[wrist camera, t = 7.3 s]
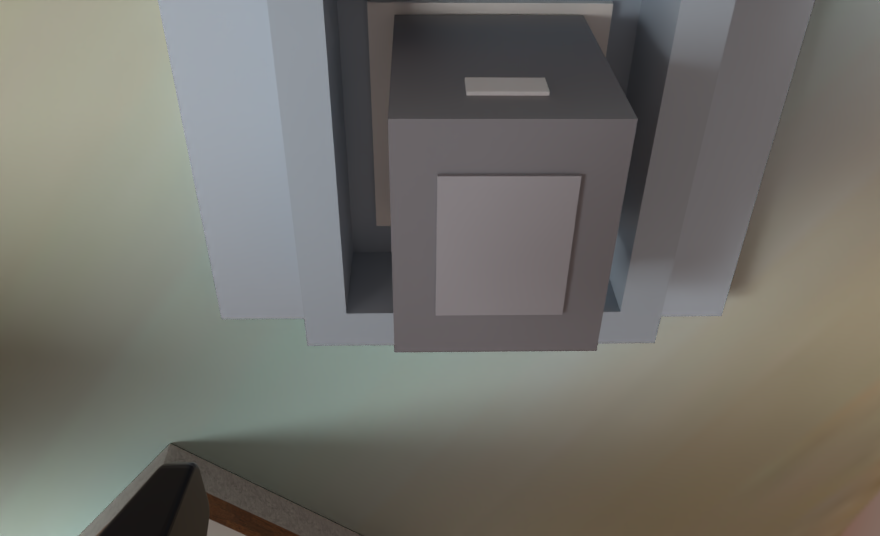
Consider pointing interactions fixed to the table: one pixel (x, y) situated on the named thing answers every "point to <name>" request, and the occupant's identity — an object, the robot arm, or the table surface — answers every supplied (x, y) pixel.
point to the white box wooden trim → (231, 504)
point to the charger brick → (503, 182)
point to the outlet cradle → (367, 150)
